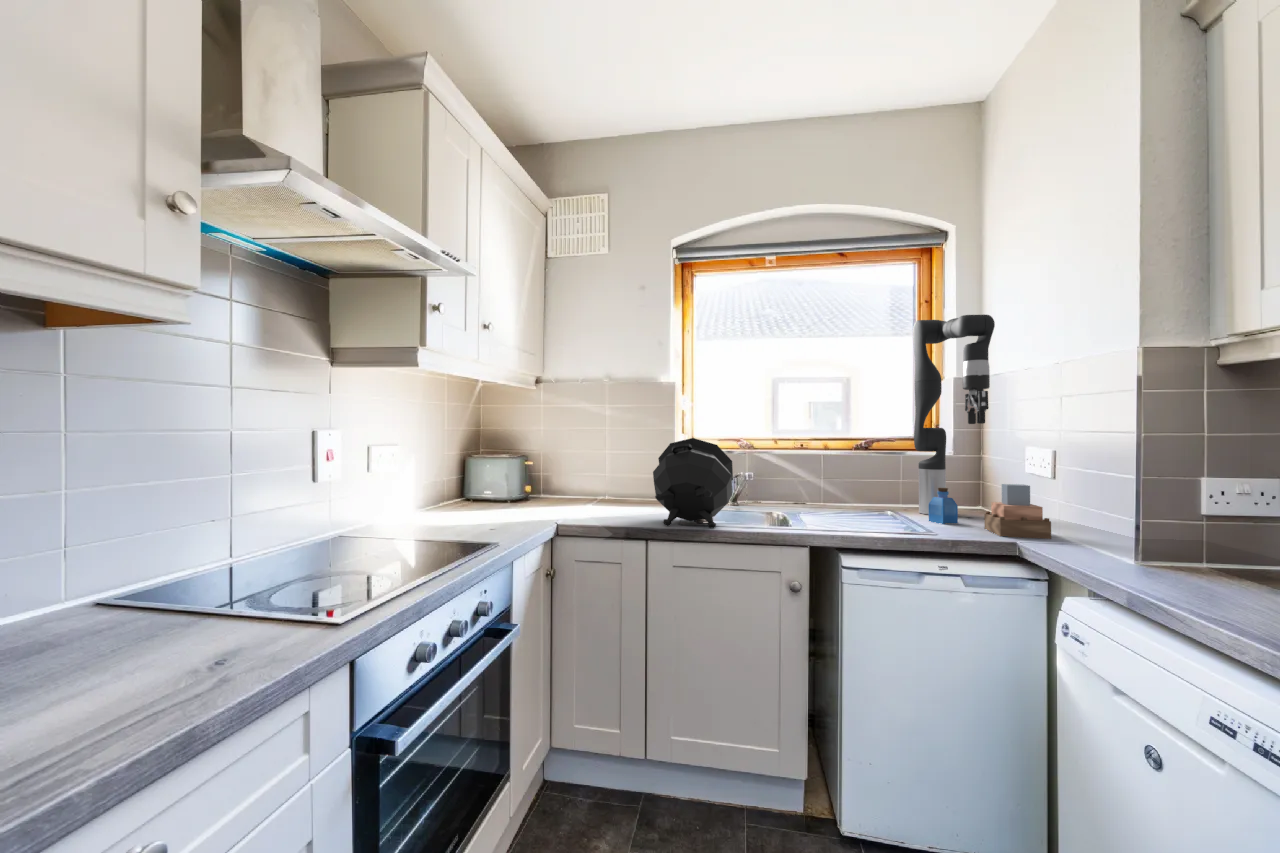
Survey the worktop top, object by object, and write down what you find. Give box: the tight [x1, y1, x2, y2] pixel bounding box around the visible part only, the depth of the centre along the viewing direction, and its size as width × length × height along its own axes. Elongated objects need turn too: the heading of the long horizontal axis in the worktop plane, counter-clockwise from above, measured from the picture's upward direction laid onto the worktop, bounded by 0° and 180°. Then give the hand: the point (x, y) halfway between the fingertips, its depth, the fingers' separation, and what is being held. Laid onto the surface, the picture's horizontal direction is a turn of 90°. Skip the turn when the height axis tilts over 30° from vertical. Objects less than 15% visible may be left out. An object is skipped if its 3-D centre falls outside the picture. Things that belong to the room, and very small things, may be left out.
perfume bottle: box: [928, 487, 959, 525], centre depth 185 cm, size 6×6×12 cm
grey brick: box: [1001, 483, 1031, 506], centre depth 164 cm, size 4×6×6 cm
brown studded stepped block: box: [983, 501, 1052, 540], centre depth 163 cm, size 13×13×9 cm
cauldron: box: [652, 437, 734, 529], centre depth 179 cm, size 28×28×24 cm
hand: (976, 423), depth 175 cm, fingers open, 8 cm apart
